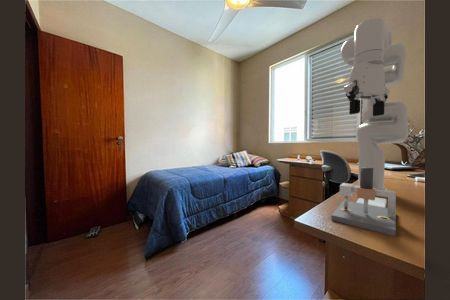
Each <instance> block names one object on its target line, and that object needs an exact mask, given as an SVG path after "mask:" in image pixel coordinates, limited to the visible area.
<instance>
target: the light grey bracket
mask: <svg viewBox="0 0 450 300" xmlns="http://www.w3.org/2000/svg"><path fill="white" fill-rule="evenodd" d="M357 188H358V187H356V186H355V184H354V183H348V182H342V183H340V185H339V196H343V198H344V199H343V201H344V209H348V201H349V197H352V196H353V195H354V193H356V194H357ZM376 196H377V197H381V198H387V208H388V217H389V218H394V219H395V210H396V205H397V204H396V202H397V201H396V199H397V197H396V196H397V192H396V191H393V190H388V191H387V190H379V189H375V197H376Z"/></svg>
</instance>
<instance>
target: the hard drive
mask: <svg viewBox="0 0 450 300" xmlns="http://www.w3.org/2000/svg"><path fill="white" fill-rule="evenodd" d="M356 203H362V204H364V199H362V198H358V199H357V200H356ZM368 205H373V206H378V207H384V208H387V205H388V198H385V197H379V196H377V197H376V196H375V200H368Z"/></svg>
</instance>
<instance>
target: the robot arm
mask: <svg viewBox="0 0 450 300" xmlns="http://www.w3.org/2000/svg"><path fill="white" fill-rule="evenodd" d="M340 51H341V53H340V55H341V57H342V60H343V61H344V63H345V64H346V65H348V66H352V67H351V69H350V72H349V73H350V74H349V80H348V84H347V85H345V86H344V87H343V89H344V93H345V96H346V98H347V102H348V103H349V115H356V114H359V113H360V112H361V118H362V121H363V123H362V124H360V125H359V126H358V127H357V129H356V137H357V142H358V169H357V171H358V178H357V180H358V181H357V182H358V183H357V184H354V186H356V187H358V186H360V167H370V168H373V188H375V189H379V190H387V191H389V189H388V188H386V187H385V163H386V159H385V158H386V156H385V155H386V154H385V151H384V150H383V149H382V148H381V146H379V145H378V144H402V143H404V142H406V140H407V139H408V136H409V124H408V123H409V121H408V109H407V108H408V107H407V105H406V103H404V102H402V101H390V102H388V101H387V100H388V97H389V94H390V89H388V88H387V87H388V86H394V85H398V84H400V83H401V82H402V81H403V79H404V77H405V65H406V53H407V51H406V48H405V45H404V44H402V43H401V42H396V43H393V34H392V32H391V31H389V30H388V29H387V27H385V22H384V19H383V18H381V17H378V16H377V17H370V18H368V19H365V20H362V21H361V22H360V23H359V24H358V25H356V27H355V29H354V37H352V38H350V39H347V40H346V41H345V42H343V44H342V46H341V49H340ZM361 100H362V109H361Z"/></svg>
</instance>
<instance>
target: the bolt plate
mask: <svg viewBox="0 0 450 300" xmlns="http://www.w3.org/2000/svg"><path fill="white" fill-rule="evenodd" d="M356 202H357V201H356ZM356 202H354V201H349V200H348V209H344V200H343V201H342V202H341V203H340V205H338V206H337V208H336V209H335V210H334V212H333V213H332V214H331V219H330V220H331V221H333V222H338V223H342V224H345V225H350V226H354V227H358V228H360V229H361V228H362V229H366V230H370V231H373V232H374V231H375V232H378V233H381V234H385V235H389V236H394V237H396V233H397V232H396V231H397V229H396V228H397V227H396V226H397V225H396V222H397V220H396V219H397V218H396V213H397V212H396V209H395V219H394V218H389V217H388V207H386V208H384V207H378V206H373V205H368V214H366V213H364V204H362V203H356Z"/></svg>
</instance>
